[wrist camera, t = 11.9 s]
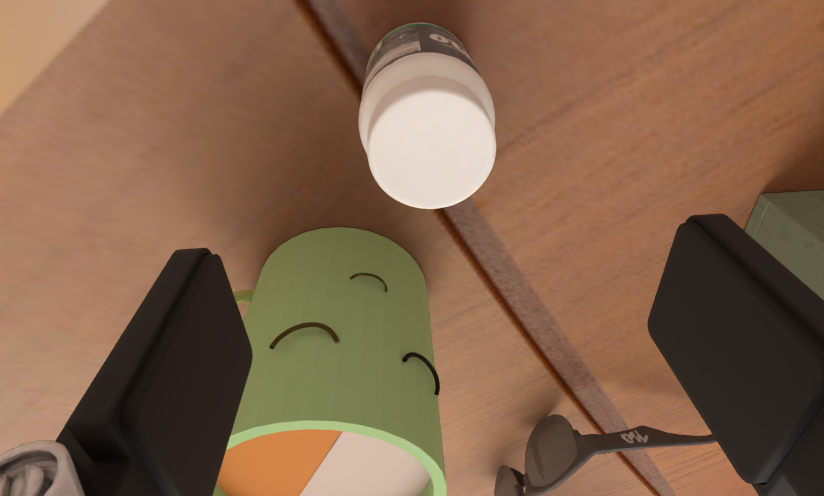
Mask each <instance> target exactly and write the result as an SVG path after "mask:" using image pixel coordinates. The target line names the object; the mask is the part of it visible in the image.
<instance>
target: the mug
mask: <svg viewBox="0 0 824 496" xmlns="http://www.w3.org/2000/svg"><path fill="white" fill-rule="evenodd" d="M233 295H234V297H235V300H236V303H241V302H248V301H251V302H250V305H249V307H248V310H247V313H246V316H245V319H244V322H243V323H244V326H245V329H246V332H247V335H248V338H249V341H250V344H251V347H252V353H253V358H252V365H251V368H250V372H249V375H248V378H247V382H246V385H245V388H244V392H243V395H242V398H241V402H240V405H239V409H238V412H237V415H236V419H235V422H234V425H233V429H232V432H231V435H230V439H229V442H228V445H227V449H226V452H225V456H224V459H223V462H222V466H221V469H220V472H219V476H218V479H217V482H216V486H215V489H214V493H213V496H446V476H445V466H444V456H443V445H442V435H441V425H440V415H439V405H438V395H439V390H440V383H439V378H438V375H437V372H436V370H435V365H434V355H433V345H432V335H431V325H430V315H429V305H428V294H427V286H426V282H425V278H424V275H423V273H422V271H421V269H420V267H419V265H418V264H417V263H416V261H415V260H414V259H413V258H412V256H411V255H410V254H409V253H408V252H406V251H405V250H404V249H403V248H402V247H400V246H399V245H398V244H396V243H394V242H393V241H391V240H389V239H388V238H386V237H384V236H381V235H378V234H376V233H373V232H370V231H366V230H361V229H357V228H347V227H330V228H320V229H316V230H312V231H308V232H304V233H302V234H300V235H298V236H295V237H293V238H291V239H289V240H288V241H286V242H285V243H283V244H282V245H280V246H279V247H278V248H277V249H276V250H275V251H274V252H273V253H272V254H271V255H270V256H269V258H268V259H267V261H266V263H265V264H264V266H263V268H262V271H261V273H260V276H259V279H258V282H257V285H256V288H255V290H243V291H236V292H233Z"/></svg>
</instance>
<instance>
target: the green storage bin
mask: <svg viewBox="0 0 824 496" xmlns="http://www.w3.org/2000/svg"><path fill="white" fill-rule="evenodd" d="M744 231H745V232H746V233H747V234H748V235H749V236H751V237H752V238H753V239H754V240H755V241H756V242H757V243H759V244H760V245H761V246H762V247H763V248H764V249H766V250H767V251H768V252H769V253H770V254H771V255H772V256H774V257H775V258H776V259H777V260H778V261H779V262H780V263H782V264H783V265H784V266H785V267H786V268H787V269H788V270H790V271H791V272H792V273H793V274H794V275H795V276H796V277H798V278H799V279H800V280H801V281H802V282H803V283H804V284H806V285H807V286H808V287H809V288H810V289H811V290H812V291H814V292H815V293H816V294H817V295H818V296H819V297H820V298H822V299H823V300H824V190H815V191H799V192H782V193H765V194H760V196H759V198H758V200H757V203H756V205H755V207H754V210H753V212H752V214H751V216H750V219H749V221H748V223H747V226H746V228H745V230H744Z"/></svg>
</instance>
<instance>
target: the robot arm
mask: <svg viewBox="0 0 824 496" xmlns="http://www.w3.org/2000/svg"><path fill="white" fill-rule="evenodd" d="M648 330H649V334H650V336H651V338H652V339H653V341H654V342H655V344H656V346H657V347H658V349H659V350H660V352H661V353H662V355H663V357H664V358H665V360H666V361H667V363H668V364H669V366H670V368H671V369H672V371H673V372H674V374H675V376H676V377H677V379H678V380H679V382H680V383H681V385H682V387H683V388H684V390H685V391H686V393H687V394H688V396H689V398H690V399H691V401H692V402H693V404H694V405H695V407H696V409H697V410H698V412H699V413H700V415H701V417H702V418H703V420H704V421H705V423H706V424H707V426H708V428H709V429H710V431H711V432H712V434H713V435H714V437H715V439H716V440H717V442H718V443H719V445H720V446H721V448H722V450H723V451H724V453H725V454H726V456H727V458H728V459H729V461H730V462H731V464H732V465H733V467H734V469H735V470H736V472H737V473H738V475H739V476H740V477H741V479H743V480H744V481H745V482H747V483H749V484H752V486H753V487H754V489H755V490H756V492H757V493H758V495H759V496H824V300H823V299H822V298H820V297H819V296H818V295H817V294H816V293H815V292H814V291H812V290H811V289H810V288H809V287H808V286H807V285H806V284H804V283H803V282H802V281H801V280H800V279H799V278H798V277H796V276H795V275H794V274H793V273H792V272H791V271H790V270H788V269H787V268H786V267H785V266H784V265H783V264H782V263H780V262H779V261H778V260H777V259H776V258H775V257H774V256H772V255H771V254H770V253H769V252H768V251H767V250H766V249H764V248H763V247H762V246H761V245H760V244H759V243H757V242H756V241H755V240H754V239H753V238H752V237H751V236H749V235H748V234H747V233H746V232H745V231H744V230H743V229H741V228H740V227H739V226H738V225H737V224H736V223H735V222H733V221H732V220H731V219H730V218H729V217H728V216H726V215H724V214H707V215H693V216H691V217H689V218H688V219H687V220H686V222H685V223H683V224H681V225H680V226H679V227H678V229H677V232H676V235H675V238H674V241H673V244H672V247H671V250H670V253H669V256H668V259H667V263H666V266H665V269H664V272H663V275H662V278H661V281H660V284H659V287H658V290H657V293H656V297H655V300H654V303H653V306H652V309H651V312H650V315H649V318H648ZM252 358H253V353H252V347H251V344H250V341H249V338H248V335H247V332H246V329H245V326H244V323H243V321H242V318H241V315H240V312H239V309H238V306H237V303H236V300H235V297H234V295H233V292H232V289H231V286H230V283H229V280H228V277H227V274H226V271H225V269H224V266H223V263H222V260H221V258H220V256H219V255H217V254H214V255H212V253H211V252H210V251H209V249H207V248H196V249H181V250H176V251H175V252H174V253H173V254H172V256H171V258H170V259H169V261H168V262H167V264H166V265H165V267H164V269H163V270H162V272H161V273H160V275H159V277H158V278H157V280H156V281H155V283H154V285H153V286H152V288H151V289H150V291H149V292H148V294H147V296H146V297H145V299H144V300H143V302H142V304H141V305H140V307H139V308H138V310H137V312H136V313H135V315H134V316H133V318H132V320H131V321H130V323H129V324H128V326H127V327H126V329H125V331H124V332H123V334H122V335H121V337H120V339H119V340H118V342H117V343H116V345H115V347H114V348H113V350H112V351H111V353H110V354H109V356H108V358H107V359H106V361H105V362H104V364H103V366H102V367H101V369H100V370H99V372H98V374H97V375H96V377H95V378H94V380H93V381H92V383H91V385H90V386H89V388H88V389H87V391H86V393H85V394H84V396H83V397H82V399H81V401H80V402H79V404H78V405H77V407H76V408H75V410H74V412H73V413H72V415H71V416H70V418H69V420H68V421H67V423H66V424H65V427H64V428H63V430H62V431H61V433H60V435H59V436H58V438H57V439H56V441H53V440H38V441H34V442H30V443H26V444H22V445H19V446H17V447H15V448H12V449H10V450H8V451H6V452H4V453H2V454H0V496H213V493H214V489H215V486H216V482H217V479H218V476H219V472H220V469H221V466H222V462H223V459H224V456H225V452H226V449H227V445H228V442H229V439H230V435H231V432H232V429H233V425H234V422H235V419H236V415H237V412H238V409H239V405H240V402H241V398H242V395H243V392H244V388H245V385H246V382H247V378H248V375H249V372H250V368H251V365H252Z"/></svg>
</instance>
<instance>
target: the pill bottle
mask: <svg viewBox="0 0 824 496" xmlns="http://www.w3.org/2000/svg"><path fill="white" fill-rule="evenodd" d="M358 123H359V132H360V137H361V141H362V144H363V147H364V149H365V151H366V153H367V156H368V162H369V166H370V169H371V172H372V174H373V176H374V178H375V180H376V181H377V183H378V184H379V186H380V187H381V188H382V189H383V190H384V191H385V192H386V193H387V194H388V195H389V196H391V197H392V198H394V199H395V200H397V201H399V202H401V203H403V204H406V205H408V206H412V207H416V208H423V209H437V208H443V207H448V206H451V205H454V204H457V203H459V202H461V201H463V200H464V199H466V198H468V197H469V196H470V195H472V194H473V193H474V192H475V191H476V190H477V189H478V188H479V187H480V186H481V185H482V184H483V183H484V181H485V180H486V178H487V177H488V175H489V173H490V171H491V169H492V167H493V164H494V160H495V156H496V136H495V131H494V127H495V111H494V105H493V101H492V97H491V95H490V92H489V90H488V88H487V86H486V84H485V82H484V80H483V78H482V77H481V75H480V74H479V72H478V70H477V68H476V66H475V64H474V63H473V61H472V59H471V58H470V56H469V54H468V52H467V51H466V49H465V47H464V46H463V44H462V43H461V42H460V41H459V40H458V39H457V38H456V37H455V36H454V35H453V34H452V33H450V32H449V31H447V30H446V29H444V28H442V27H440V26H437V25H434V24H430V23H411V24H406V25H403V26H400V27H398V28H396V29H394V30H393V31H391V32H390V33H388V34H387V35H386V36H385V37H384V38H383V39H382V40H381V41H380V42H379V43H378V44H377V46H376V47H375V49H374V50H373V52H372V54H371V56H370V58H369V61H368V65H367V69H366V75H365V80H364V86H363V93H362V99H361V105H360V110H359V116H358Z"/></svg>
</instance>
